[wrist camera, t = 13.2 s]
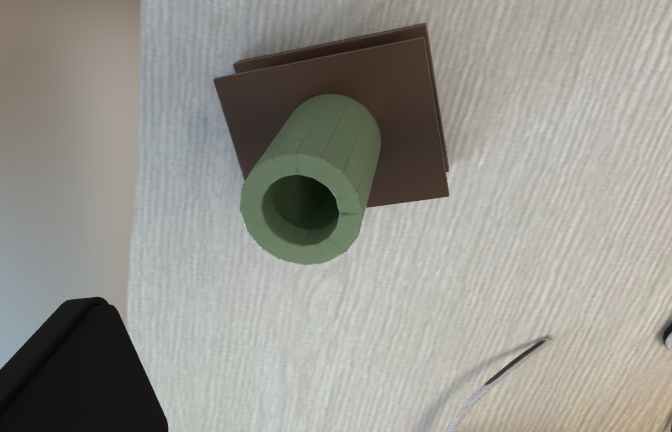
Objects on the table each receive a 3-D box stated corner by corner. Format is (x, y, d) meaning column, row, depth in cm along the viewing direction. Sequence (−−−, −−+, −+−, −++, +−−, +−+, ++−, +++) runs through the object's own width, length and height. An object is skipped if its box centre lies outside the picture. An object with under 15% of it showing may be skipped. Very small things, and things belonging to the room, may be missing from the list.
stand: (236, 60, 34) (212, 79, 31) (426, 22, 32) (423, 38, 28) (274, 192, 37) (257, 222, 34) (449, 166, 35) (449, 196, 32)
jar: (275, 102, 31) (224, 163, 24) (370, 85, 30) (347, 143, 23) (299, 190, 33) (258, 271, 26) (389, 177, 32) (372, 258, 24)
